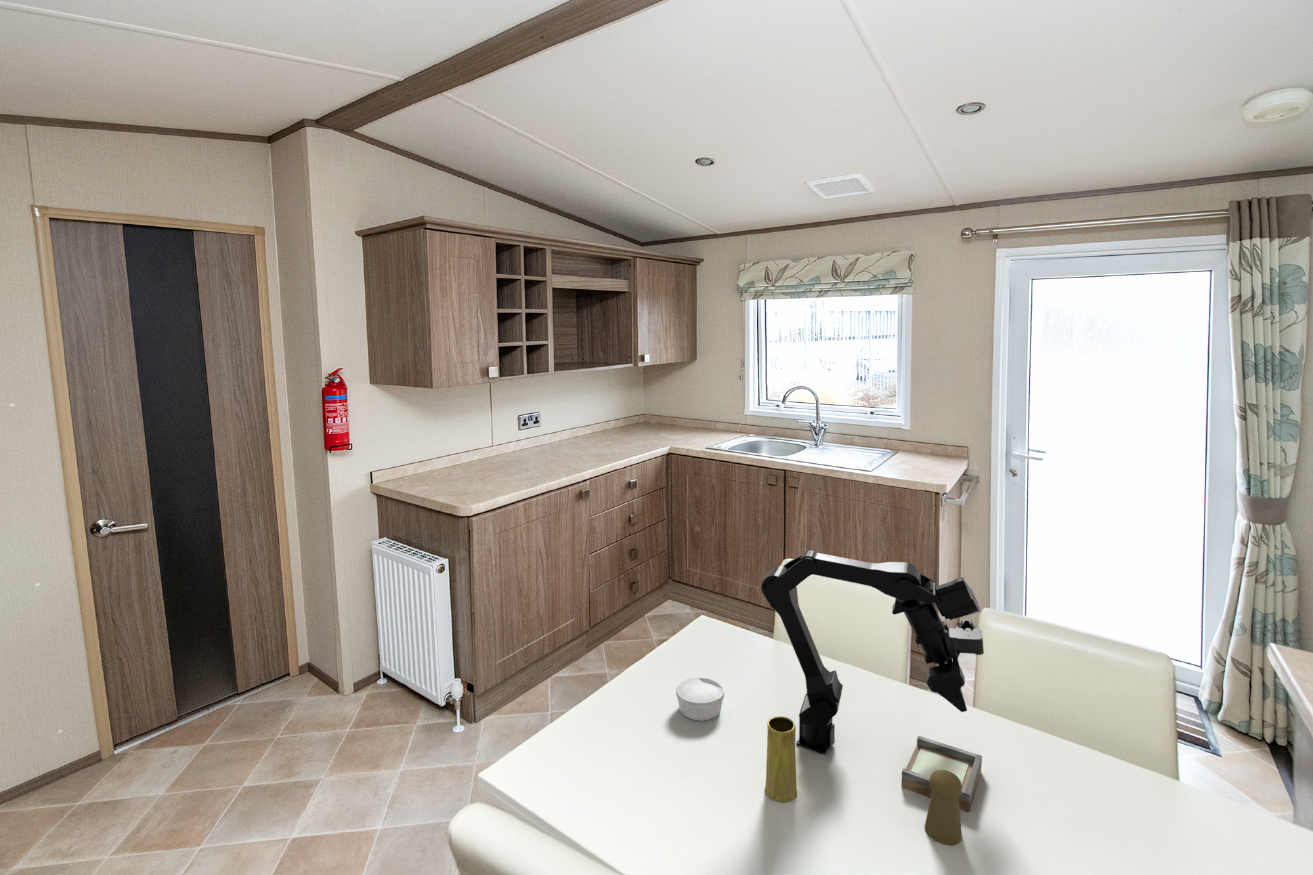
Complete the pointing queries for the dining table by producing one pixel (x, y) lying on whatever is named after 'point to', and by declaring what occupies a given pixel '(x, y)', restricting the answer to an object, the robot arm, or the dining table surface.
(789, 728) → the vase
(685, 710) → the ramekin
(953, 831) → the olive domed stopper
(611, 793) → the dining table surface
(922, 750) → the wooden tray
